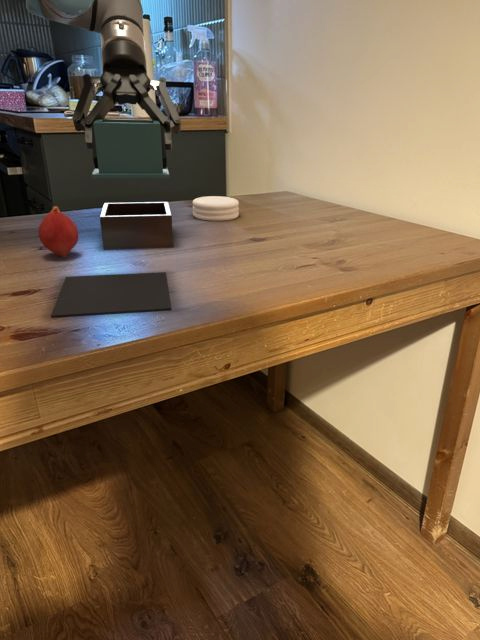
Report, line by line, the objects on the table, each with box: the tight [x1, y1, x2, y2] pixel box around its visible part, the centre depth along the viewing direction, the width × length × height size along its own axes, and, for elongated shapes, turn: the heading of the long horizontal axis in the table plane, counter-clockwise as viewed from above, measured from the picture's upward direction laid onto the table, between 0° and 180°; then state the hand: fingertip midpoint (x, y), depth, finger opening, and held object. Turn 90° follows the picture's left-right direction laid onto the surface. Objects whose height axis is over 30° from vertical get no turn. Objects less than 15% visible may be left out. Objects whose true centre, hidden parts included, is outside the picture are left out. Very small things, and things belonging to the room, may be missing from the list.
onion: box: [38, 206, 79, 258], centre depth 78 cm, size 6×6×8 cm
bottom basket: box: [99, 201, 174, 251], centre depth 89 cm, size 12×12×6 cm
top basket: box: [91, 118, 171, 179], centre depth 83 cm, size 12×12×8 cm
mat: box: [50, 271, 172, 319], centre depth 66 cm, size 14×14×1 cm
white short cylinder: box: [192, 195, 240, 222], centre depth 108 cm, size 10×10×4 cm
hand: (130, 163), depth 81 cm, fingers closed on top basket, 10 cm apart
